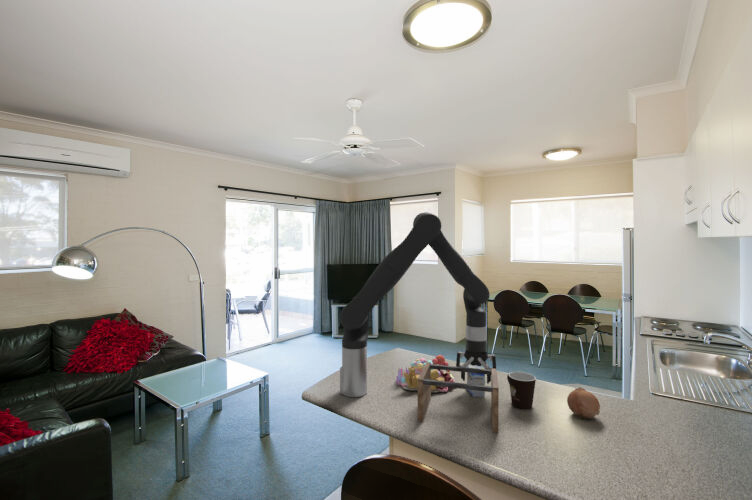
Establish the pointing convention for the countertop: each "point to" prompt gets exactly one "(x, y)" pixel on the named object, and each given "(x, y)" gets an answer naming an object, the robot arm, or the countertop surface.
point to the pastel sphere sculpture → (412, 375)
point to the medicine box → (476, 382)
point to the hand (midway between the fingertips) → (475, 381)
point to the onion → (583, 403)
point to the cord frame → (426, 383)
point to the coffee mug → (521, 389)
